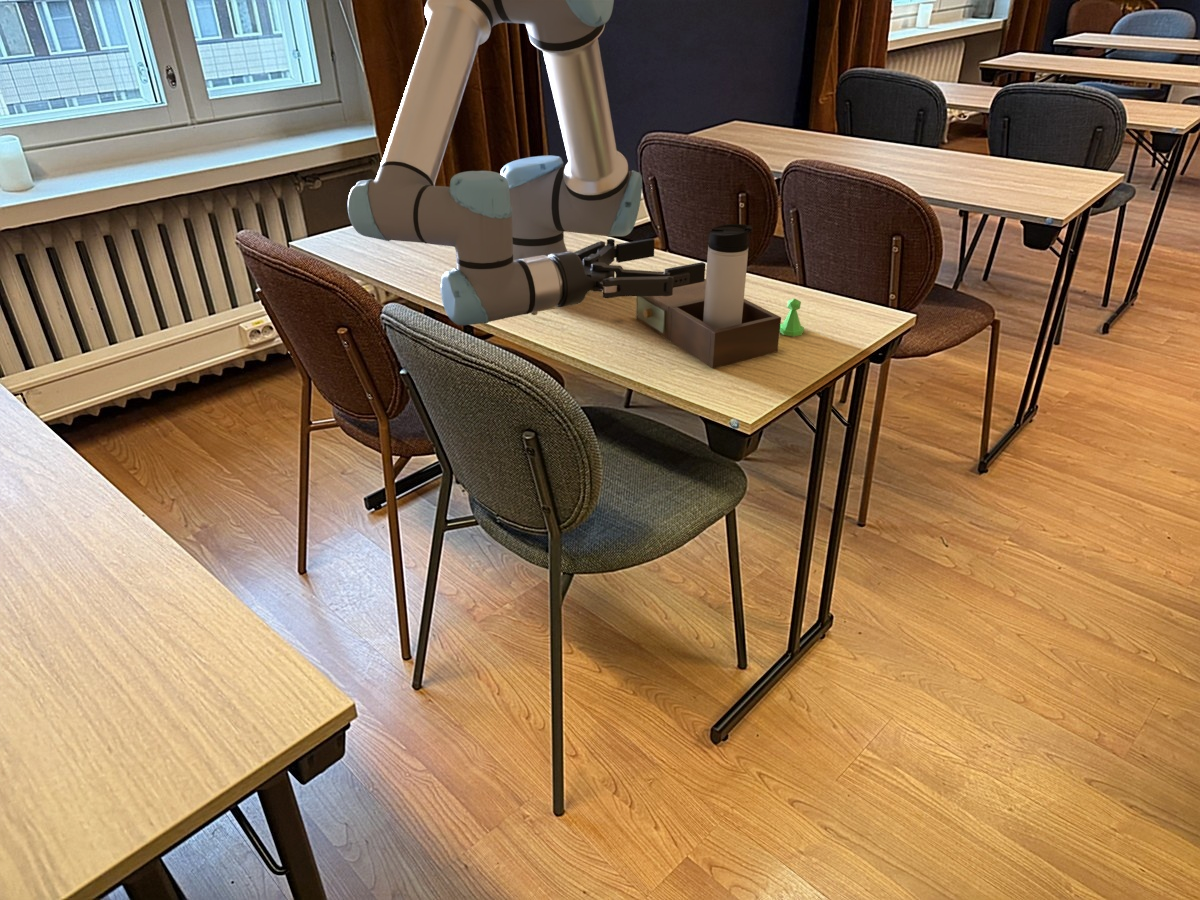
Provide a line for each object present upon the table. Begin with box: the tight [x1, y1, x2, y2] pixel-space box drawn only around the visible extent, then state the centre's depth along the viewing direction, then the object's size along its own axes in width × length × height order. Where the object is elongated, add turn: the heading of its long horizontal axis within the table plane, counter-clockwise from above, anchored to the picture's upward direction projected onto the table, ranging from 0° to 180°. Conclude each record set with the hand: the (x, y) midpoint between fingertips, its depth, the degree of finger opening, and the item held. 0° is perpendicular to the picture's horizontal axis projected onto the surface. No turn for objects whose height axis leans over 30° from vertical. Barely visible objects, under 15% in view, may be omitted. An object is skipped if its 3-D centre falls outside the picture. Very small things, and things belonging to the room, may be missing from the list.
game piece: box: [779, 298, 805, 337], centre depth 145 cm, size 4×4×6 cm
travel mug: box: [703, 223, 753, 330], centre depth 136 cm, size 6×7×20 cm
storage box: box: [635, 278, 782, 369], centre depth 143 cm, size 23×14×6 cm, turn 29°
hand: (677, 259), depth 129 cm, fingers open, 13 cm apart
